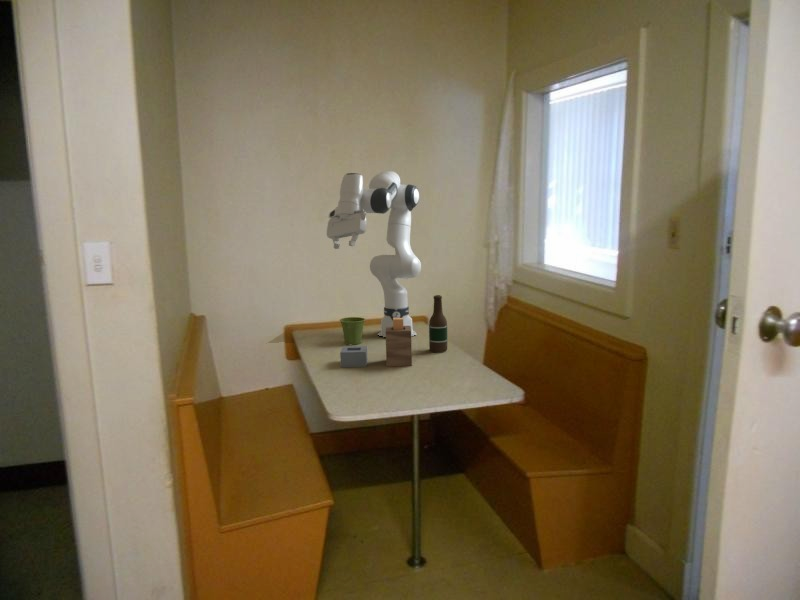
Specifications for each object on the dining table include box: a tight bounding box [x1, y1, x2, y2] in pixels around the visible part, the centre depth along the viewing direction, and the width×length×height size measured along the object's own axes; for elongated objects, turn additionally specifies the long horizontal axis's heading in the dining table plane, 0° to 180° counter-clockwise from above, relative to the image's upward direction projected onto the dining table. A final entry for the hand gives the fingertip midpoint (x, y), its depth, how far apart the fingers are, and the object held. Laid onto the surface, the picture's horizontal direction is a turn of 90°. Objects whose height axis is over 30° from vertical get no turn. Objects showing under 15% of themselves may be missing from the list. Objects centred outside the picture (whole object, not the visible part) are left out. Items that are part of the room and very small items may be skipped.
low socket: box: [339, 345, 369, 368], centre depth 240 cm, size 10×10×6 cm
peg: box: [393, 318, 403, 330], centre depth 238 cm, size 3×4×8 cm
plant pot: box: [339, 316, 366, 345], centre depth 274 cm, size 12×12×11 cm
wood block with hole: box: [385, 326, 413, 367], centre depth 239 cm, size 10×10×14 cm
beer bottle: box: [428, 294, 448, 353], centre depth 256 cm, size 8×8×24 cm
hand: (343, 247), depth 229 cm, fingers open, 8 cm apart
